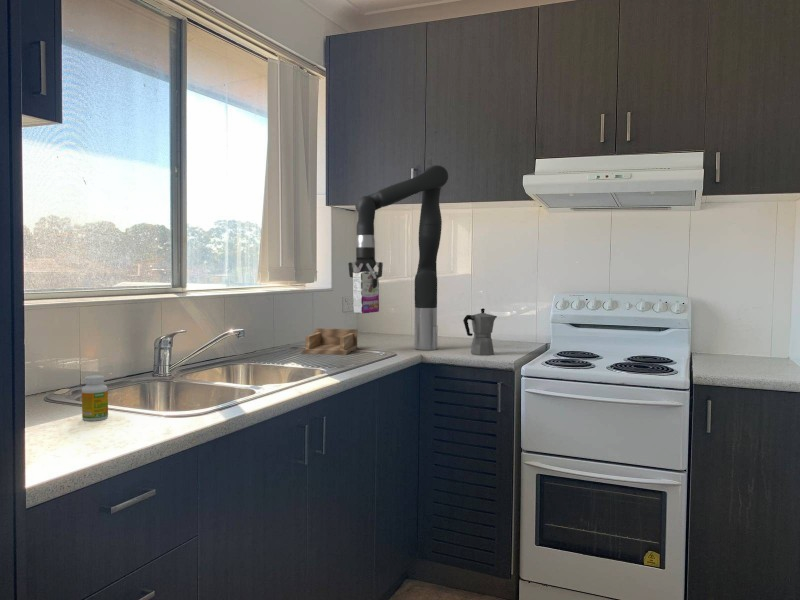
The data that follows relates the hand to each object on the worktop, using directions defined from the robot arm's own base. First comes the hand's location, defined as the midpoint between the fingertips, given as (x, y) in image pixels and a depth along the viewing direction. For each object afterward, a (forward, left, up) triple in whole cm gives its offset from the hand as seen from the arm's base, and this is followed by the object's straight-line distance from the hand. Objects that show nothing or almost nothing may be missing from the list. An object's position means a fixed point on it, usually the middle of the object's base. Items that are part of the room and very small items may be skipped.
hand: (365, 288), depth 270 cm
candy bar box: (0, 0, -10) cm, 10 cm away
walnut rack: (+14, +3, -25) cm, 29 cm away
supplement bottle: (+35, +126, -26) cm, 133 cm away
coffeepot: (-46, 0, -26) cm, 53 cm away
